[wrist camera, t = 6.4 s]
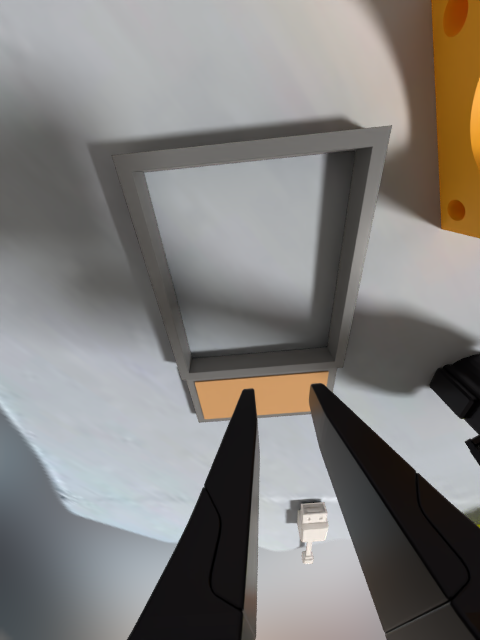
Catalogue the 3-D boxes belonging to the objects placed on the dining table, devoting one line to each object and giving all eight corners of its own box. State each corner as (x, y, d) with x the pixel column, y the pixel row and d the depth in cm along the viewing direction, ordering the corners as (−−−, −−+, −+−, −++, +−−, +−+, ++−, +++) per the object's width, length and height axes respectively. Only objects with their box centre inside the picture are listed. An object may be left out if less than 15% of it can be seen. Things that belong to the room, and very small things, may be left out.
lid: (333, 357, 23) (338, 365, 22) (325, 405, 26) (329, 413, 25) (187, 369, 23) (184, 378, 22) (199, 414, 27) (198, 423, 26)
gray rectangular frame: (371, 131, 13) (392, 125, 12) (334, 352, 22) (342, 367, 21) (126, 158, 14) (111, 155, 12) (185, 365, 23) (181, 380, 21)
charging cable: (295, 552, 56) (298, 571, 54) (297, 498, 40) (302, 521, 38) (315, 550, 56) (319, 569, 53) (325, 496, 40) (331, 519, 37)
